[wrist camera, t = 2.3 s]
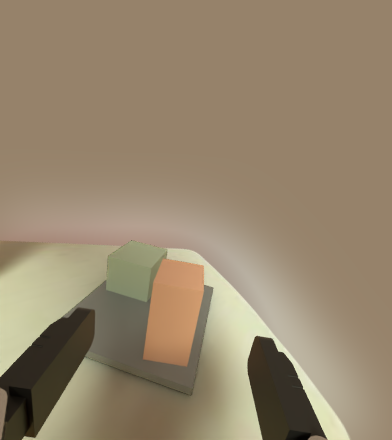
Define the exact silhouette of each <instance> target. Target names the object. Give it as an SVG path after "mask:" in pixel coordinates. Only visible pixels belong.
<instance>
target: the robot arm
mask: <svg viewBox="0 0 392 440" xmlns="http://www.w3.org/2000/svg"><path fill="white" fill-rule="evenodd" d="M94 334H95V310H94V309H88V308H81V307H78V308H76V309H75V310H74V312H73V313H72V314H71V315H70V316H69V317H68V318H65V317H62V318H60V319H59V320H57V321H56V322H54V323H52V324H51V325H49V327H48V328H47V329H46V330H45V331H44V332H43V333H42V334H41V335H40V337H38V338H37V339H36V340H35V341H34V342H33V343H32V345H31V346H30V347H29V348H28V349H27V350H26V351H25V352H24V353H23V354H22V355H21V356H20V357H19V358H18V359H17V360H16V361H15V362H14V363H13V364H12V365H11V366H10V368H9V369H8V370H7V371H6V372H5V373H4V374H3V375H2V376H1V377H0V440H22V439H23V437H24V436H26V437H33V438H35V437H36V436H37V434H38V432H39V431H40V429H41V427H42V426H43V424H44V422H45V421H46V419H47V418H48V416H49V414H50V413H51V411H52V409H53V408H54V406H55V405H56V403H57V401H58V400H59V398H60V396H61V395H62V393H63V391H64V390H65V388H66V387H67V385H68V383H69V382H70V380H71V378H72V377H73V375H74V373H75V372H76V370H77V369H78V367H79V365H80V364H81V362H82V360H83V359H84V357H85V355H86V354H87V352H88V351H89V349H90V347H91V345H92V342H93V339H94ZM248 376H249V380H250V385H251V389H252V394H253V398H254V403H255V407H256V412H257V416H258V421H259V425H260V430H261V434H262V438H263V440H327V438H326V436H325V434H324V432H323V430H322V428H321V425H320V423H319V421H318V419H317V417H316V414H315V412H314V410H313V408H312V406H311V403H310V401H309V399H308V397H307V395H306V393H305V390H303V386H302V384H301V382H300V379H298V375H297V373H296V371H295V368H294V366H293V364H292V363H291V361H290V360H289V359H288V358H287V357H286V355H285V354H284V353H283V352H278V350H277V348H276V345H275V343H274V341H273V339H272V338H266V337H260V336H256V337H255V339H254V342H253V345H252V348H251V351H250V355H249V358H248Z"/></svg>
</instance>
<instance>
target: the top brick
mask: <svg viewBox="0 0 392 440" xmlns="http://www.w3.org/2000/svg"><path fill="white" fill-rule="evenodd" d="M203 293H204V266H203V265H197V264H192V263H186V262H180V261H174V260H169V259H163V260H162V262H161V265H160V267H159V270H158V272H157V274H156V277H155V279H154V282H153V288H152V295H151V303H150V310H149V317H148V325H147V332H146V340H145V347H144V354H143V360H149V361H155V362H161V363H167V364H174V365H180V366H186V367H187V365H188V361H189V356H190V352H191V347H192V343H193V338H194V334H195V329H196V325H197V320H198V316H199V311H200V307H201V302H202V298H203Z"/></svg>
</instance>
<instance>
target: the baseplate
mask: <svg viewBox="0 0 392 440" xmlns="http://www.w3.org/2000/svg"><path fill="white" fill-rule="evenodd" d="M106 282H107V280H106V281H104V282H103V283H102V284H101V285H100V286H99V287H97V288H96V289H95V290H94V291H93V292H91V293H90V294H89V295H88V296H87V297H85V298H84V299H83V300H82V301H81V302H80V303H78V304H77V305H76V306H75V307H74V308H72V309H71V310H70V311H69V312H68V313H66V314H65V315H64V316H63V317H65V318H68V317H69V316H70V315H71V314H72V313H73V312H74V310H75V309H76V308H78V307H81V308H88V309H94V310H95V334H94V339H93V342H92V345H91V347H90V349H89V351H88V352H87V354H86V355H85V357H87V358H90V359H93V360H96V361H98V362H101V363H104V364H106V365H109V366H112V367H115V368H117V369H120V370H123V371H125V372H128V373H131V374H134V375H136V376H139V377H142V378H145V379H147V380H150V381H153V382H155V383H158V384H161V385H164V386H166V387H169V388H172V389H174V390H177V391H180V392H183V393H185V394H188V395H191V394H192V390H193V385H194V381H195V376H196V371H197V366H198V361H199V356H200V351H201V346H202V341H203V337H204V332H205V327H206V322H207V317H208V312H209V307H210V302H211V297H212V293H213V287H209V286H206V285H204V293H203V298H202V302H201V307H200V311H199V316H198V320H197V325H196V329H195V334H194V338H193V343H192V347H191V352H190V356H189V361H188V365H187V367H186V366H180V365H174V364H167V363H161V362H155V361H149V360H143V354H144V347H145V340H146V332H147V325H148V317H149V310H150V303H151V297H150V298H149V300H148V301H147V302H144V301H141V300H138V299H135V298H131V297H128V296H125V295H121V294H118V293H115V292H112V291H108V290H106Z"/></svg>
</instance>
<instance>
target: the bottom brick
mask: <svg viewBox="0 0 392 440" xmlns="http://www.w3.org/2000/svg"><path fill="white" fill-rule="evenodd" d="M166 256H167V249H163V248H159V247H155V246H151V245H148V244H143V243H140V242H136V241H132V240H131V241H130V242H128V243H127V244H126V245H124V246H122V247H121V248H119V249H118V250H116V251H115V252H113V253H112V254H110V255H109V256H108V265H107V282H106V290H108V291H112V292H115V293H118V294H121V295H125V296H128V297H131V298H135V299H138V300H141V301H144V302H147V301H148V300H149V298H150V297H151V295H152V288H153V282H154V279H155V277H156V274H157V272H158V270H159V267H160V265H161V262H162V260H163V259H166Z"/></svg>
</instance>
